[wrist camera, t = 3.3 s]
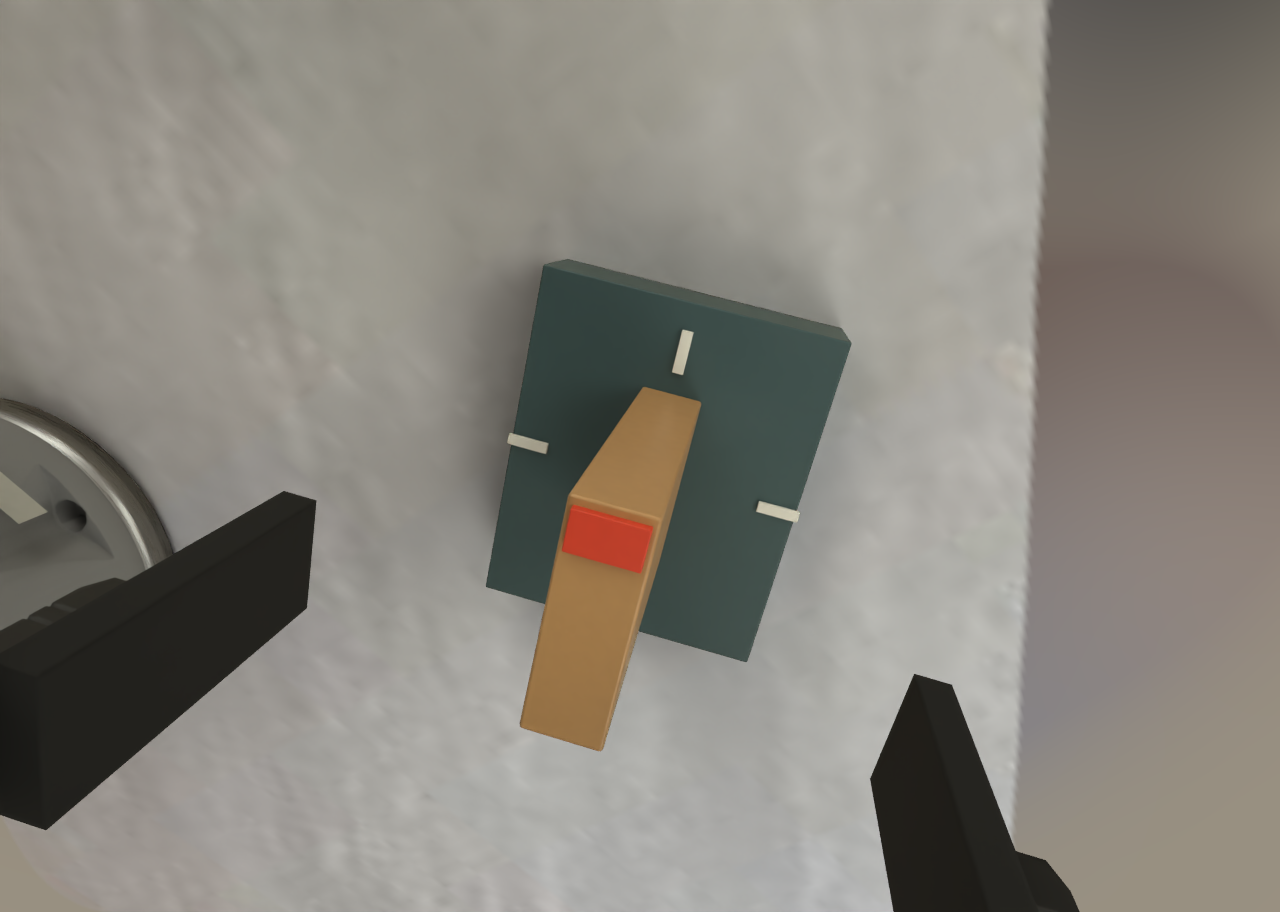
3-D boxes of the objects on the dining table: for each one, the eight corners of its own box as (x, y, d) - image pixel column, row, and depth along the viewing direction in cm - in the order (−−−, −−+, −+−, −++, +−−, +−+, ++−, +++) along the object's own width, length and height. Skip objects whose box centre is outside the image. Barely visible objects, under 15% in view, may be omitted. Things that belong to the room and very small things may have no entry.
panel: (750, 621, 30) (749, 666, 27) (508, 552, 31) (481, 588, 28) (845, 329, 26) (855, 344, 23) (563, 257, 27) (538, 263, 24)
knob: (659, 561, 27) (599, 760, 17) (604, 546, 27) (514, 734, 17) (702, 401, 25) (661, 523, 15) (643, 385, 25) (564, 497, 15)
